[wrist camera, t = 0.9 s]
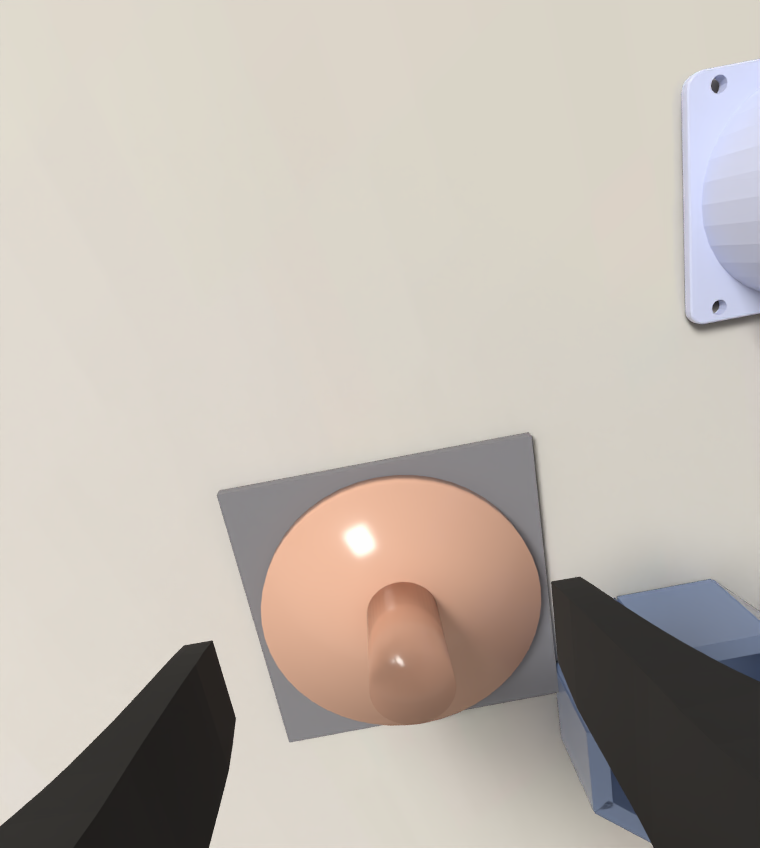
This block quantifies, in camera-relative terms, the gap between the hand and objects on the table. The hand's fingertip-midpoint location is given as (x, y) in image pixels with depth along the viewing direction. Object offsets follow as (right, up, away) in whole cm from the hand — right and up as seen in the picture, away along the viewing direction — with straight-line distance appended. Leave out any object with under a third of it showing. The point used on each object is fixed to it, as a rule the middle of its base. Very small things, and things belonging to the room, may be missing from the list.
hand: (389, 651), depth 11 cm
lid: (+1, -2, +11) cm, 11 cm away
